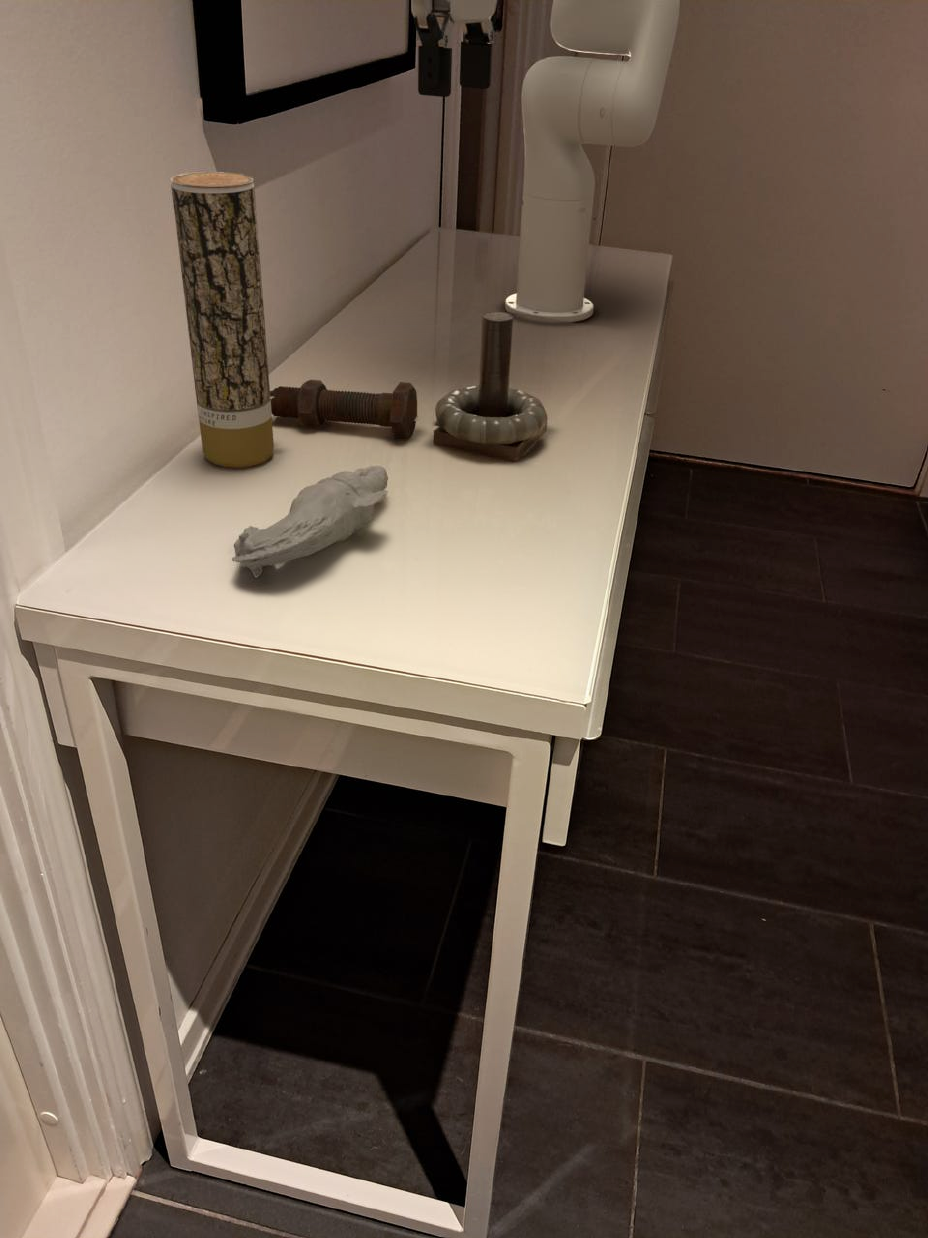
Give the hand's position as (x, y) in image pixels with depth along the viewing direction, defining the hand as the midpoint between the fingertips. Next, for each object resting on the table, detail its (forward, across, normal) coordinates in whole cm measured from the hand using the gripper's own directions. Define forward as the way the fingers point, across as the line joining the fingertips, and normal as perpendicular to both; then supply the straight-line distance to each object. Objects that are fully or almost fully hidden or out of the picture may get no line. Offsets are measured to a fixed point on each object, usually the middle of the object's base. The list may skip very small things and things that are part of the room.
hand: (455, 91), depth 98 cm
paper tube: (+31, +27, -10) cm, 42 cm away
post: (+30, +11, +10) cm, 34 cm away
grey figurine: (+31, +37, +5) cm, 48 cm away
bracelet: (+28, +12, +10) cm, 32 cm away
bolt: (+31, +16, -5) cm, 35 cm away
